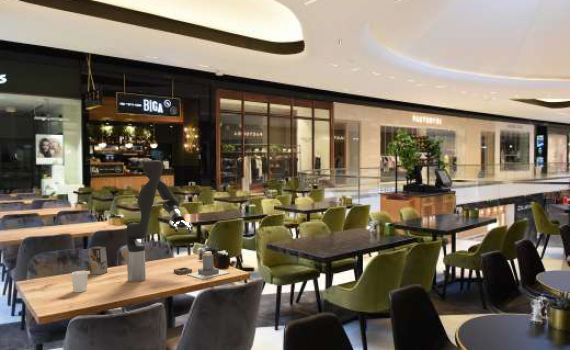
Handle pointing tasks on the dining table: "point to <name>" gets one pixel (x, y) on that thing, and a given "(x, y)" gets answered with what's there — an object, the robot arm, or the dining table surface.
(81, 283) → the white cup
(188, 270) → the holster
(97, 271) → the coffee box
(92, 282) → the dining table surface
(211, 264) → the grey bottle
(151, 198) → the robot arm
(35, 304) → the dining table surface
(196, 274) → the port
